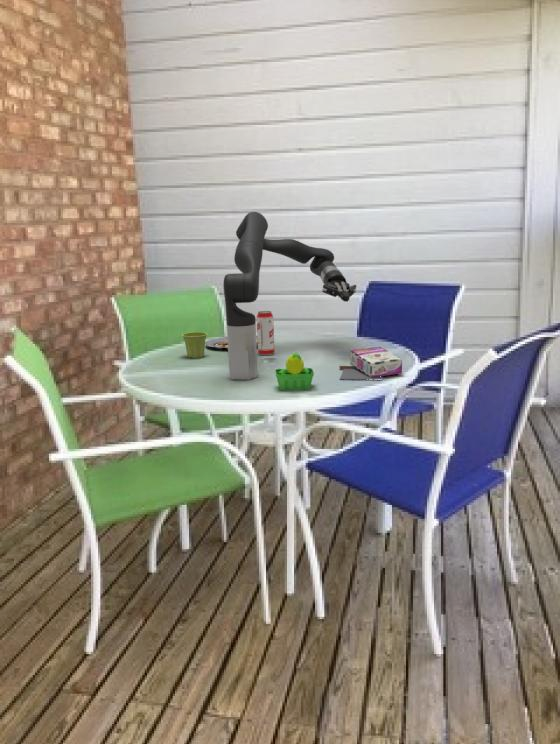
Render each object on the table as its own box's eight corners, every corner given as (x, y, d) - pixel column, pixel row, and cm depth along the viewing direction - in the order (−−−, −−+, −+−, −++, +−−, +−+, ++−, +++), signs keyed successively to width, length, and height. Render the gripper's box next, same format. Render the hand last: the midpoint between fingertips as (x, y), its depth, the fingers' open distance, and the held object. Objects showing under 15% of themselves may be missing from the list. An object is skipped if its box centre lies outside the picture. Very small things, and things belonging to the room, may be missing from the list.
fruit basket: (312, 383, 200) (311, 347, 197) (315, 391, 191) (314, 353, 188) (275, 385, 199) (274, 349, 197) (276, 392, 191) (274, 355, 188)
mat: (382, 380, 200) (382, 379, 200) (339, 379, 203) (339, 378, 203) (383, 370, 213) (383, 369, 213) (344, 369, 216) (344, 368, 215)
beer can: (275, 352, 247) (274, 310, 244) (273, 355, 241) (272, 312, 238) (259, 352, 248) (257, 310, 244) (257, 356, 242) (255, 313, 238)
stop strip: (388, 370, 213) (388, 366, 212) (339, 369, 216) (339, 366, 215) (388, 369, 213) (388, 366, 213) (339, 369, 217) (339, 365, 216)
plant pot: (205, 353, 251) (204, 331, 249) (210, 357, 242) (209, 334, 240) (181, 355, 248) (180, 333, 246) (185, 360, 239) (184, 337, 237)
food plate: (260, 337, 278) (260, 329, 277) (273, 348, 256) (272, 339, 255) (202, 344, 272) (201, 335, 271) (210, 355, 250) (209, 346, 250)
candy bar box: (349, 364, 217) (370, 378, 202) (349, 350, 216) (369, 363, 201) (380, 360, 220) (402, 373, 205) (380, 346, 218) (402, 358, 203)
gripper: (348, 288, 241) (363, 308, 227) (314, 288, 239) (326, 309, 224) (351, 269, 238) (366, 289, 223) (316, 269, 235) (329, 288, 220)
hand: (346, 299), depth 224 cm, fingers closed
